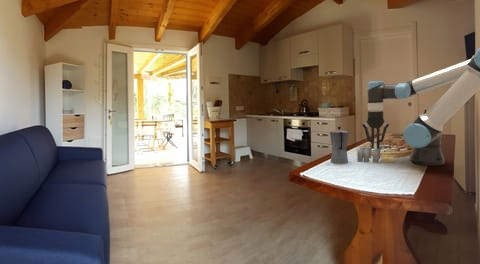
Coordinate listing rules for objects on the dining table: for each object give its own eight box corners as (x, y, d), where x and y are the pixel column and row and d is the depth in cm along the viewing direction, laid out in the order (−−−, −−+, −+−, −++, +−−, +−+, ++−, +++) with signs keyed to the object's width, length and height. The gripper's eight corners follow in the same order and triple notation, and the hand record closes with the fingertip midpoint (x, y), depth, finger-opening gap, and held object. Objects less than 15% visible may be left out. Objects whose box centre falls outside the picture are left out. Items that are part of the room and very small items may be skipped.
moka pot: (345, 160, 164) (345, 124, 161) (353, 167, 149) (353, 128, 146) (327, 160, 165) (327, 125, 162) (333, 167, 150) (333, 129, 147)
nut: (393, 162, 155) (393, 157, 155) (392, 164, 151) (392, 159, 151) (383, 162, 157) (383, 156, 157) (382, 164, 154) (382, 158, 153)
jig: (381, 159, 162) (381, 147, 161) (379, 165, 151) (379, 151, 150) (360, 158, 167) (360, 146, 166) (356, 163, 156) (357, 150, 156)
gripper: (389, 109, 154) (389, 153, 157) (363, 110, 161) (363, 152, 163) (388, 111, 148) (388, 156, 151) (361, 111, 154) (361, 155, 157)
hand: (375, 154), depth 157 cm, fingers closed
